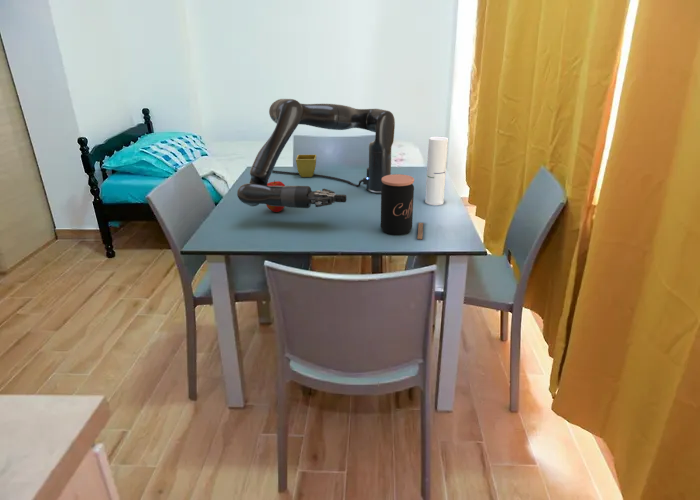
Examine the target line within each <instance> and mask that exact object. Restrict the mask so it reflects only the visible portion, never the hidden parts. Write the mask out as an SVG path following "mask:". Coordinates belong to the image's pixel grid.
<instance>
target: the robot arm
mask: <svg viewBox="0 0 700 500" xmlns="http://www.w3.org/2000/svg"><path fill="white" fill-rule="evenodd" d="M268 115H269V117H270V119H271V120H272V121H273V122H274V123H275V124H276V125H275V128H274V130H273V131H272V133H271V135H270V136H269V138H268V139H267V140H266V142H265V143H264V144H263V146H262V147H260V149H259V151H258V153H257V154H256V156H255V158H254V161H253V162H252V165H251V167H250V170H249V176H250V179H249V182H248V183H244V184H242V185H240V186H239V187H238V189H237V191H236V195H237V198H238V200H239V201H240V202H241V203H242V204H245V205H246V206H249V207H257V206H259V205H266V204H267V205H270V206H283V207H284V208H290V209H293V208H294V209H310V208H311V206H312V205H315V208H320V207H326V206H331V205H333V204H335V203H346V202H347V200H348V197H347V194H337V193H336V192H335V191H333V190H330V189H327V188H322V189H321V190H319V189H318V190H315V191H313V190H312V187H311V186H309V185H285V186H267V184H268V183H269V179H270V177H271V175H272V173H277V174H284V175H285V174H286V175H298V176H300V174H299V172H294V171H283V170H274V169H275V166H276V163H277V162H278V160H279V157H280V156H281V154H282V151H283V150H284V148H285V147H286V145H287V143H288V141H289V140H290V138H291V137H292V135H293V133H294V132H295V131H296V129H297V127H298V126H299V125H304V126H309V127H314V128H319V129H325V130H333V131H346V130H351V129H361V130H366V131H370V132H373V133H375V134H374V135H375V137H374V140H373V141H370V142H369V144H368V167H367V168H366V176H365V177H363V178H362V179H360V180H359V181H358V184H355V183H353V182H351V181H349V180H347V179H343V178H339V177H335V176H330V175H323V174H316V173H314V174H313V176H312V177H319V178H325V179H330V180H336V181H340V182H344V183H347V184H349V185H351V186H354V187H356V188H358V187H360V186H361V185H362V184H363V185H365V186H366V191H368V192H370V193H373V194H379V195H381V186H382V184H383V183H382V177H384V176H387V175H392V146H393V144H394V139H395V128H396V120H395V116H394V113H392V112H391V111H390V110H386V109H381V108H355V107H352V106H350V105H349V106H348V105H344V104H336V103H300V101H298V100H296V99H293V98H278V99H277V100H275V101H273V102H272V103H271V104H270V105H269V108H268ZM267 205H266V206H267Z"/></svg>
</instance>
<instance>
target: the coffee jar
mask: <svg viewBox="0 0 700 500" xmlns="http://www.w3.org/2000/svg"><path fill="white" fill-rule="evenodd" d="M382 183H383V184H382V186H381V193H380V228H381V230H382V232H383V233H385V234H387V235H392V236H404V235H407V234H409V233H410V232H411V230H412V229H413V220H414V219H413V214H414V197H415V195H414V194H415V191H414V190H415V186H414V183H415V178H414V177H413V176H411V175H408V174H399V173H397V174H396V173H395V174H393V173H391V175H387V176H384V177H382Z"/></svg>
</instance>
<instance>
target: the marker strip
mask: <svg viewBox="0 0 700 500" xmlns="http://www.w3.org/2000/svg"><path fill="white" fill-rule="evenodd" d="M423 235H424V222H418V228H417V237H416V239H417V240H420V241H421V240H422V241H423Z"/></svg>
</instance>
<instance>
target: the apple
mask: <svg viewBox="0 0 700 500" xmlns="http://www.w3.org/2000/svg"><path fill="white" fill-rule="evenodd" d="M267 186H286V184H284V183H283V182H282V181H279V180H278V181H277V180H274V181H270V182H268V184H267ZM265 205H266V207H267V209H268V210H269V211H271V212H273V213H279V212H282V211H283V210H284V208H285V207H283V206H270V205H267V204H265Z"/></svg>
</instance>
